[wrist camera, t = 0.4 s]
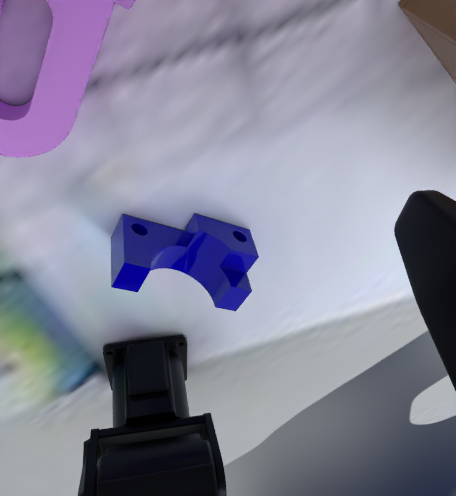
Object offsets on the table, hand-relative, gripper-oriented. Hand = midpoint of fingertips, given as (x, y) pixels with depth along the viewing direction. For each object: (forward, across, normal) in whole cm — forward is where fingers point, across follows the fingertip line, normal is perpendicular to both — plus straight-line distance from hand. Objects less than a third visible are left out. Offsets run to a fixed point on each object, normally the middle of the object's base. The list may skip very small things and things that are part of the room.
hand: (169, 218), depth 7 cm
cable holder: (+14, -2, +14) cm, 20 cm away
